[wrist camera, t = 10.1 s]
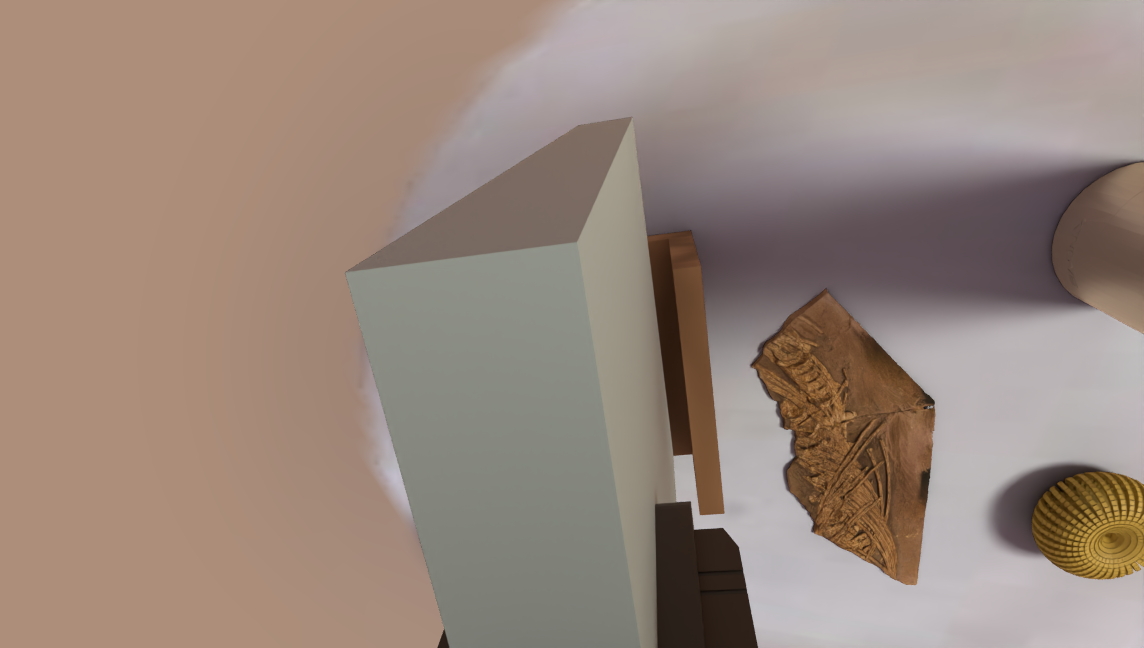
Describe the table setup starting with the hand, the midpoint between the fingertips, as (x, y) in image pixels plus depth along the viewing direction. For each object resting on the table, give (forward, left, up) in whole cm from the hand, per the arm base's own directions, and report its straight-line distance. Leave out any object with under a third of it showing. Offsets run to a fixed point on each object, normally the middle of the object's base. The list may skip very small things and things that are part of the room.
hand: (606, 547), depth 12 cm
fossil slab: (-14, +20, -34) cm, 41 cm away
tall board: (0, 0, -15) cm, 15 cm away
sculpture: (-29, +26, -33) cm, 51 cm away
